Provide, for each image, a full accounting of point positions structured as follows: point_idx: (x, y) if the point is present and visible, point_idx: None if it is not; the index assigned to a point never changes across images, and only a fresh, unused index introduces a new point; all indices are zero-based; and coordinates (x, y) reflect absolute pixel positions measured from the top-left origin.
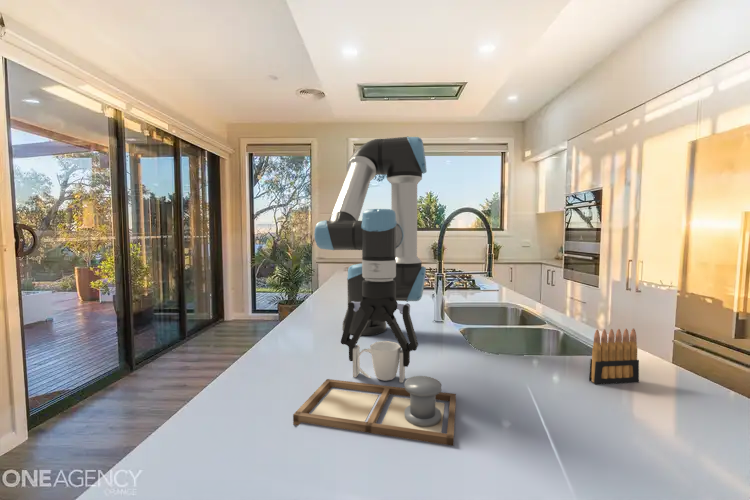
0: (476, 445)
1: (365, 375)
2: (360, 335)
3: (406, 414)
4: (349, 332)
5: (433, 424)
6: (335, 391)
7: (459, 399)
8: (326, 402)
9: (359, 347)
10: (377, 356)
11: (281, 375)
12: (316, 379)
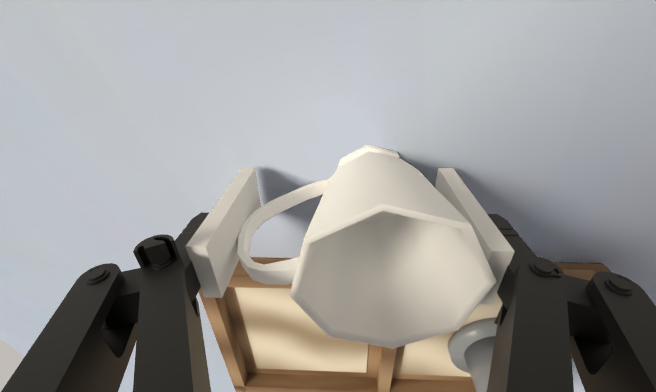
0: (576, 371)
1: (293, 204)
2: (191, 324)
3: (454, 362)
4: (109, 365)
5: None
6: (249, 292)
7: (626, 242)
8: (259, 332)
9: (212, 240)
10: (352, 306)
11: (12, 220)
12: (135, 220)
